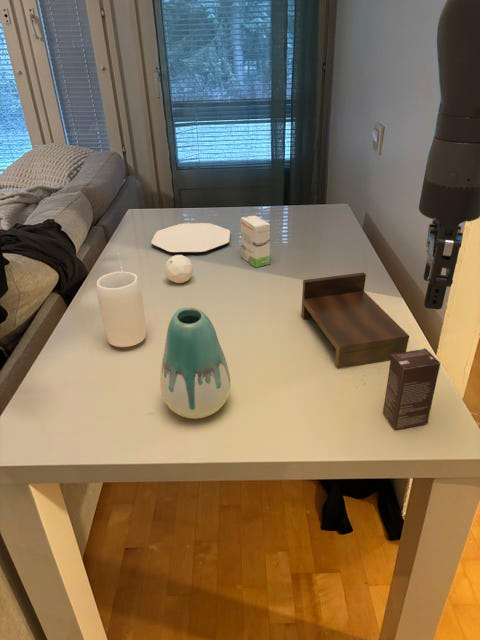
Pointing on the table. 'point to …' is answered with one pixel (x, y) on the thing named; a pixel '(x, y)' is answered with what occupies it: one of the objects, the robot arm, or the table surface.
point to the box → (410, 388)
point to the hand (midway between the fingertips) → (431, 293)
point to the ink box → (255, 241)
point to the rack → (352, 320)
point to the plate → (191, 238)
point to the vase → (193, 366)
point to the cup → (121, 308)
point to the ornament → (178, 268)
